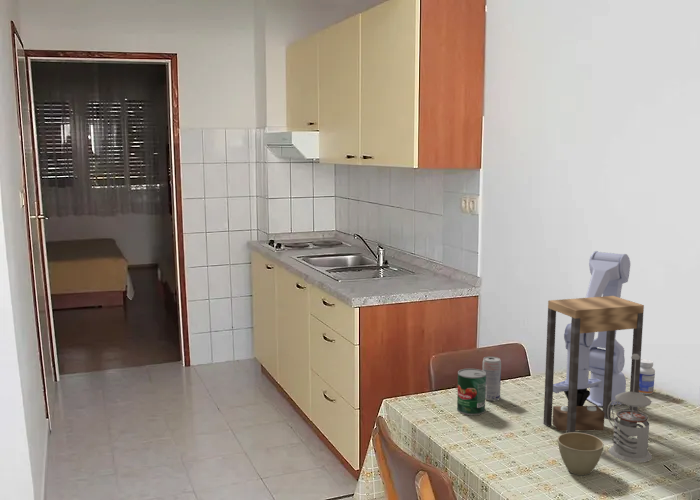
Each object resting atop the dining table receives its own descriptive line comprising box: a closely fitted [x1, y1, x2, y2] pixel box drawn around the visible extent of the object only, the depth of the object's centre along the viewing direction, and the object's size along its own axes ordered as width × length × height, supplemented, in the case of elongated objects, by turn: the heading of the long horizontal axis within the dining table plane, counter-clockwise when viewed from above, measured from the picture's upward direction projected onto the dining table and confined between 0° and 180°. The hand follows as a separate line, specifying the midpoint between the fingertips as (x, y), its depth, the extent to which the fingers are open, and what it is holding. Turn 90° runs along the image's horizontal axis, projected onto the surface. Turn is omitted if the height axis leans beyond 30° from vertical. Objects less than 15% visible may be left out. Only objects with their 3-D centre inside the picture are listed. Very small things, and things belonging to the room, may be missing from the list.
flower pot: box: [557, 431, 604, 476], centre depth 157 cm, size 10×10×7 cm
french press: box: [607, 354, 653, 463], centre depth 165 cm, size 10×12×25 cm
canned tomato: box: [456, 368, 486, 416], centre depth 194 cm, size 8×8×11 cm
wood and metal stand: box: [543, 295, 645, 433], centre depth 179 cm, size 20×12×34 cm, turn 106°
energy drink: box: [482, 356, 502, 402], centre depth 203 cm, size 5×5×12 cm
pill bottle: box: [639, 358, 656, 396], centre depth 208 cm, size 5×5×10 cm
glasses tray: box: [552, 405, 605, 432], centre depth 182 cm, size 12×5×6 cm, turn 91°
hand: (575, 414), depth 187 cm, fingers closed
